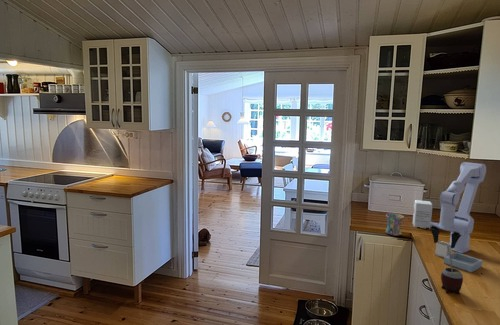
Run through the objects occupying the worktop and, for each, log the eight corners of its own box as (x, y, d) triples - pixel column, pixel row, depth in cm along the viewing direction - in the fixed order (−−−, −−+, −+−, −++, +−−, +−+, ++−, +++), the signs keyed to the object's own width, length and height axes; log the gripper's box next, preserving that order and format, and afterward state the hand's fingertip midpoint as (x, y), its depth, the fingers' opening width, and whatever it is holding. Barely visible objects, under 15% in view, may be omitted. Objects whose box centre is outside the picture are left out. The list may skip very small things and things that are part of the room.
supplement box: (412, 223, 214) (414, 199, 212) (428, 224, 211) (430, 201, 209) (413, 227, 205) (416, 202, 203) (430, 229, 202) (433, 204, 200)
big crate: (455, 258, 160) (455, 252, 159) (481, 266, 151) (482, 260, 151) (443, 263, 153) (444, 257, 153) (470, 272, 145) (471, 266, 144)
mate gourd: (456, 297, 124) (460, 258, 122) (433, 288, 130) (437, 250, 128) (465, 292, 128) (469, 253, 126) (443, 283, 134) (447, 246, 132)
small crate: (440, 252, 166) (441, 241, 165) (451, 256, 162) (452, 244, 161) (435, 255, 163) (436, 243, 162) (446, 258, 159) (447, 246, 158)
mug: (384, 230, 198) (386, 212, 196) (402, 233, 194) (404, 214, 192) (383, 236, 187) (384, 217, 186) (401, 239, 183) (403, 220, 182)
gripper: (427, 214, 163) (424, 241, 165) (460, 222, 152) (456, 251, 153) (434, 212, 167) (431, 239, 169) (467, 220, 156) (463, 248, 157)
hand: (444, 245), depth 161 cm, fingers open, 7 cm apart
